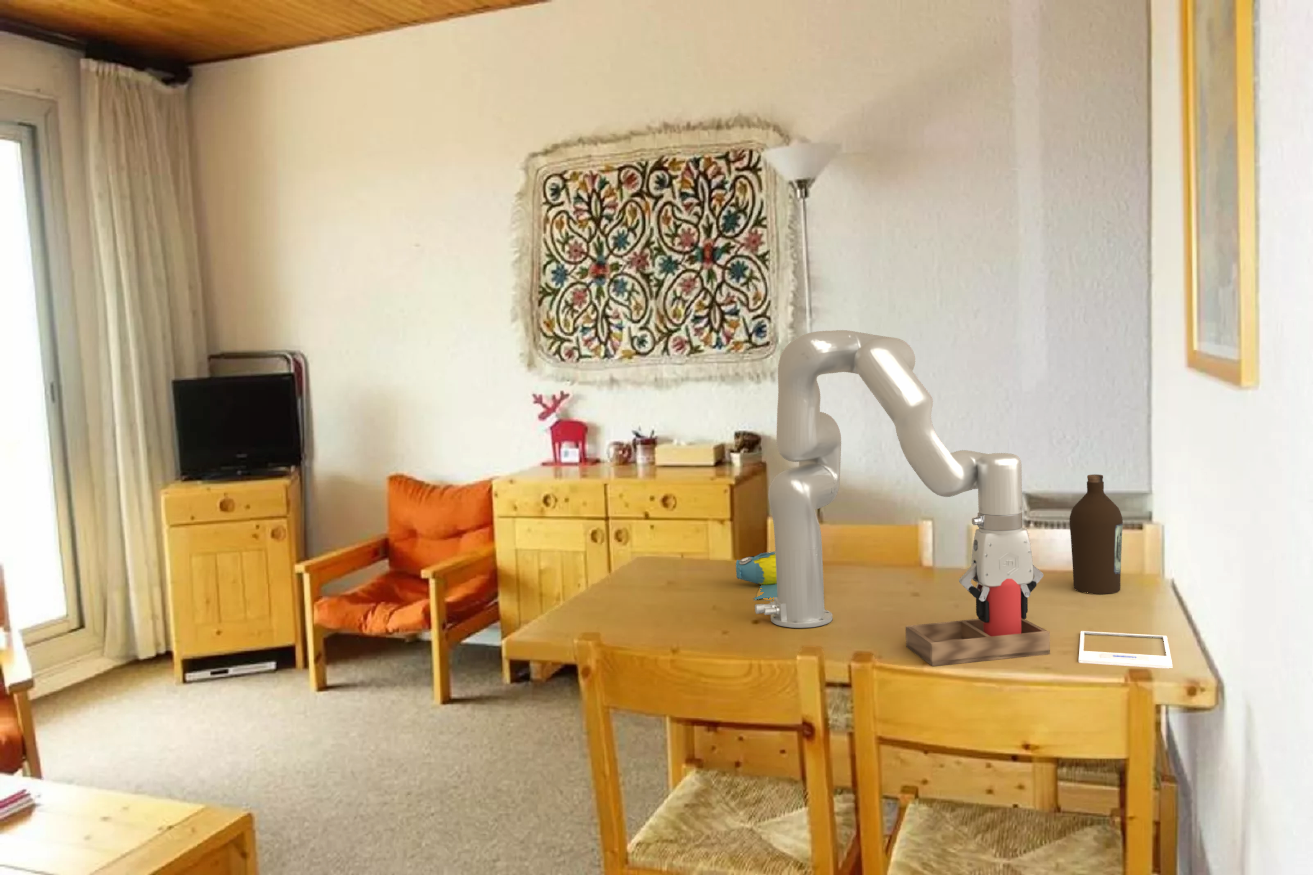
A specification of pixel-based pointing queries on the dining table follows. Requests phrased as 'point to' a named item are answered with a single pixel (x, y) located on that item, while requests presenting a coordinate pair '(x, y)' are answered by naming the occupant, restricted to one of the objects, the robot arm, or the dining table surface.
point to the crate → (973, 642)
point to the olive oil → (1096, 541)
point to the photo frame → (1125, 658)
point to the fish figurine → (759, 572)
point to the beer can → (1004, 609)
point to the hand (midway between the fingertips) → (1002, 618)
